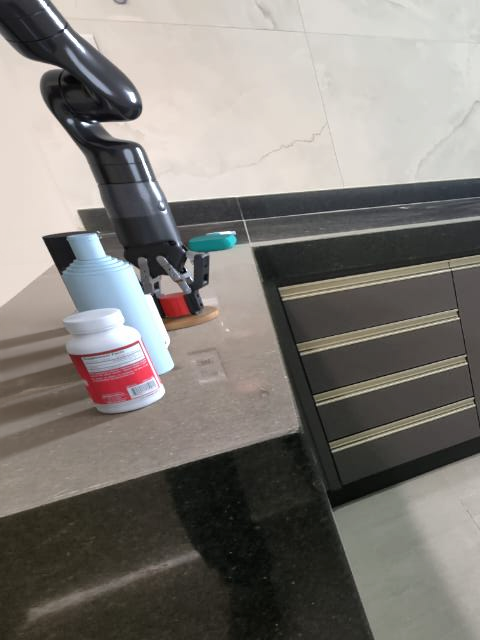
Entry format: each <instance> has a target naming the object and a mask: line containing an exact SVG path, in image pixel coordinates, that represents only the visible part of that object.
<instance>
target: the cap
mask: <svg viewBox="0 0 480 640" xmlns="http://www.w3.org/2000/svg"><path fill="white" fill-rule="evenodd" d="M184 294H186V293H184V292H183V291H180V292H173V293H167V294H164V296H161V297H159V300H160V304H161V306H162V308H163V311H164V313H165V315H166V316H167V317H176V316H182V315H187V314H190V313H191V312H190V310H189V307H188V305H187V302H186V300H185V297H184Z"/></svg>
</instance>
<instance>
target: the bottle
mask: <svg viewBox="0 0 480 640" xmlns="http://www.w3.org/2000/svg"><path fill="white" fill-rule="evenodd" d="M67 240H68V241H69V244H70V246H71V248H72V250H73V252H74V254H75V256H76V260H74V261H73V262H74V263H71V264H70V266H69V267H67V268H66V270H65V271H63V272H62V273H63V275H62V278H61V280H62V279H63V280H62V282H63V281H64V282H63V283H65V284H64V286H65V285H66V286H65V288H66V287H67V288H66V290H67V289H68V290H67V292H68V291H69V292H68V294H69V293H70V294H69V296H70V295H71V296H70V298H71V297H72V298H71V300H72V299H73V300H72V302H73V301H74V302H73V304H74V303H75V304H74V306H75V305H76V306H75V308H76V307H77V308H76V309H78V311H79V313H81V312H85V311H90V310H96V309H105V308H116V309H119V310H120V312H121V314H122V316H123V318H124V323H123V325H124V326H128V327H131V328H134V329H135V330H137V331H138V332H139V334H140V336H141V338H142V340H143V342H144V345H145V347H146V349H147V351H148V354H149V356H150V358H151V360H152V362H153V365H154V367H155V369H156V371H157V373H158V376H159V377H160V376H161V375H164V374H166V373H168V372H169V371H171V370H173V368H174V367H175V363H174V361H173V359H172V356H171V354H170V352H169V350H168V347H166V344H165V342H164V340H163V337H162V335H161V333H160V330H159V328H158V326H157V323H156V321H155V319H154V316H153V314H152V312H151V309H150V307H149V305H148V302H147V300H146V298H145V295H144V293H143V291H142V288H141V286H140V284H139V281H138V279H137V277H136V274H137V273H136V272H135V270H134V266H133V265H132V264H131V265H132V266H131V265H129V263H128V262H123V261H122V260H117V258H118V257H112V256H111V255H110V254H109V255H108V254H106V252H105V250H104V248H103V246H102V243H101V241H100V237H99V236H98V234H97V233H94V232H93V233H87V234H78V235H71V236H68V237H67ZM135 273H136V274H135Z"/></svg>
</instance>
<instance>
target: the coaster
mask: <svg viewBox="0 0 480 640" xmlns="http://www.w3.org/2000/svg"><path fill="white" fill-rule="evenodd" d="M219 315H220V313H219V309H218V307H216V306H212V305H204V309H202V312H201V313H199V314H198V315H192V314H191V313H190V314H187V315H182V316H176V317H167V318H161V320H162V322H163V324H164V327H165V329H166V331H172V330H173V331H174V330H180V329H185V328H190V327H194V326H198V325H202V324H205V323H207V322H210V321H212V320H214V319H217V318H218V317H219Z"/></svg>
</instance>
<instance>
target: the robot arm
mask: <svg viewBox="0 0 480 640" xmlns="http://www.w3.org/2000/svg"><path fill="white" fill-rule="evenodd" d="M0 36H1V37H2V38H3V39H4V40H5V41H6V42H7V43H8V44H9V46H11V48H13V50H14V51H16V52H17V53H18V54H19V55H20V56H22V57H23V58H25V59H28V60H30V61H33V62H37V63H41V64H47V65H51V66H55V67H57V68H53V69H48V70H47V71H45V72H44V73H43V74H42V75H41V76H40V79H39V92H40V95H41V98H42V100H43V102H44V104H45V106H46V108H47V109H48V110H49V112H50V113H51V114H52V116H53V117H54V118H55V119H56V121H57V122H58V123H59V124H60V126H61V127H62V128H63V129H64V131H65V132H66V133H67V135H68V136H69V137H70V139H71V140H72V141H73V143H74V144H75V146H77V148H78V149H79V150H80V151H81V153H82V155H83V156H84V157H85V160H86V162H87V164H88V167H89V169H90V172H91V173H92V177H93V178H94V181H95V183H96V185H97V188H98V193H99V196H100V200H101V203H102V204H103V207H104V211H105V213H106V214H107V216H108V219H109V221H110V223H111V226H112V228H113V230H114V233H115V235H116V238H117V239H118V242H119V244H120V245H121V246H122V247H123V255H122V256H121V257H116V258H117V260H122V261H123V262H128V263H129V265H131V266H132V267H135V269H138V270H139V273H140V274H139V275H140V276H139V275H138V274H137V273H136V272H135V274H136V277H137V279H138V281H139V284H140V286H141V288H142V291H143V293H144V295H147V294H148V295H151V296H152V298H153V301H154V303H155V305H156V308H157V310H158V313H159V315H160V317H161V318H167V316H166V315H165V313H164V311H163V308H162V306H161V304H160V300H159V297H161V296H164V295H165V293H162V285H161V283H162V282H161V281H162V279H163V276H165V277H166V276H167V277H170V278H171V280H172V281H173V282H174V283H175V284H177V286H178V287H179V288H180V289H181V292H184V293H186V294H184V297H185V300H186V302H187V305H188V307H189V310H190V312H191V314H192V315H198V314H199V313H201V312H202V309H204V306H205V305H204V302H203V300H202V297H201V295H200V292H199V291H200V290H201V289H203V288H205V287H207V286H208V285H209V284H210V262H211V261H210V258H211V257H210V253H209V252H208V251H206V252H193V251H191V250H190V249H189V248H188V246H186V245H185V244H184V243H183V241H182V235H181V233H180V230H179V228H178V226H177V223H176V220H175V217H174V215H173V212H172V210H171V207H170V205H169V202H168V199H167V197H166V194H165V193H164V191H163V189H162V186H161V185H160V183H159V180H158V179H157V177H156V174H155V171H154V168H153V166H152V164H151V160H150V158H149V156H148V153H147V150H146V149H145V148H144V146H142V144H140V143H139V142H137V141H134V140H130V139H122V138H117V137H115V136H113V135H112V134H111V133H110V132H109V131H108V130H107V129H106V128H105V127H104V125H102V123H128V122H132V121H135V120H138V118H139V117H140V116H141V115H142V113H143V108H144V104H143V99H142V97H141V94H140V92H139V89H138V88H137V87H136V85H135V84H134V82H133V81H132V80H131V79H130V78H129V77H128V75H126V74H125V73H124V72H123V71H122V70H121V69H120V68H119V67H118V66H117V65H116V64H115V63H113V62H112V61H111V60H110V59H108V58H107V57H106V56H105V55H104V54H103V53H101V52H100V51H99V50H98V49H97V48H96V47H95V46H94V45H92V44H91V43H90V42H89V41H87V40H86V39H85V38H84V37H83V36H81V35H80V34H79V33H78V32H76V29H74V28H73V26H71V24H70V23H69V22H68V20H67V19H66V17H64V16H63V14H62V13H61V12H60V10H59V9H58V7H56V5H55V4H54V3H53V1H52V0H0ZM188 259H189V262H190V264H191V265H193V277H192V272H191V271H190V270H189V268H188V267H187V266H186V263H187V261H188Z"/></svg>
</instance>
